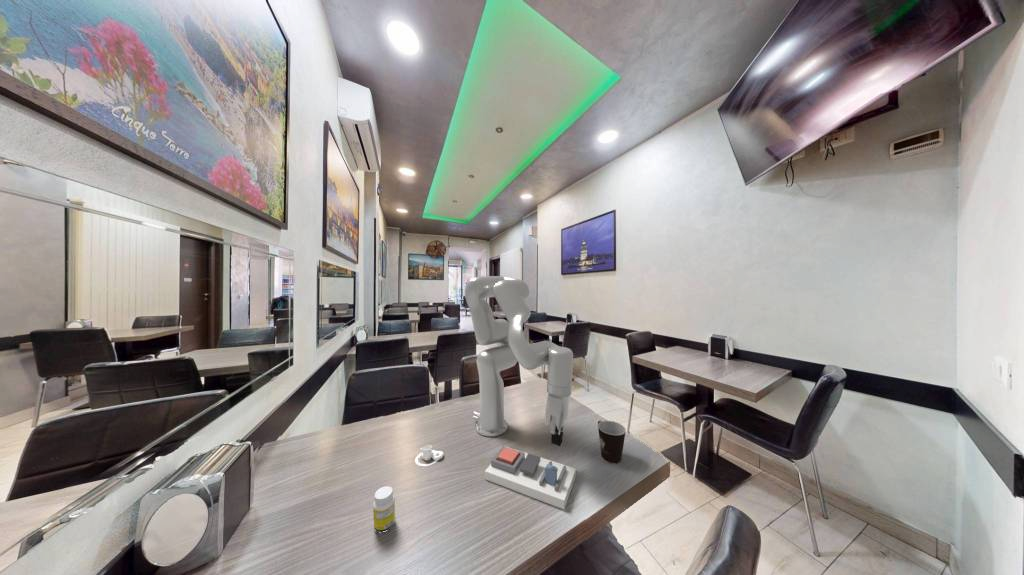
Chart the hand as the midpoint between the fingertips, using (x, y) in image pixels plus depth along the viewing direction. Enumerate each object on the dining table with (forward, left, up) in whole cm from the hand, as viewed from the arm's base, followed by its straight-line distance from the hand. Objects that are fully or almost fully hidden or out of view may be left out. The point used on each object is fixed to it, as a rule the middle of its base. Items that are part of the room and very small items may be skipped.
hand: (556, 443), depth 87 cm
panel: (-5, -8, -8) cm, 12 cm away
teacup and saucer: (-37, -17, -8) cm, 41 cm away
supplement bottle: (-31, -38, -8) cm, 50 cm away
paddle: (+2, -10, -5) cm, 12 cm away
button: (-13, -8, -5) cm, 16 cm away
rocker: (-5, -8, -3) cm, 10 cm away
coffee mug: (+15, +14, -8) cm, 22 cm away
